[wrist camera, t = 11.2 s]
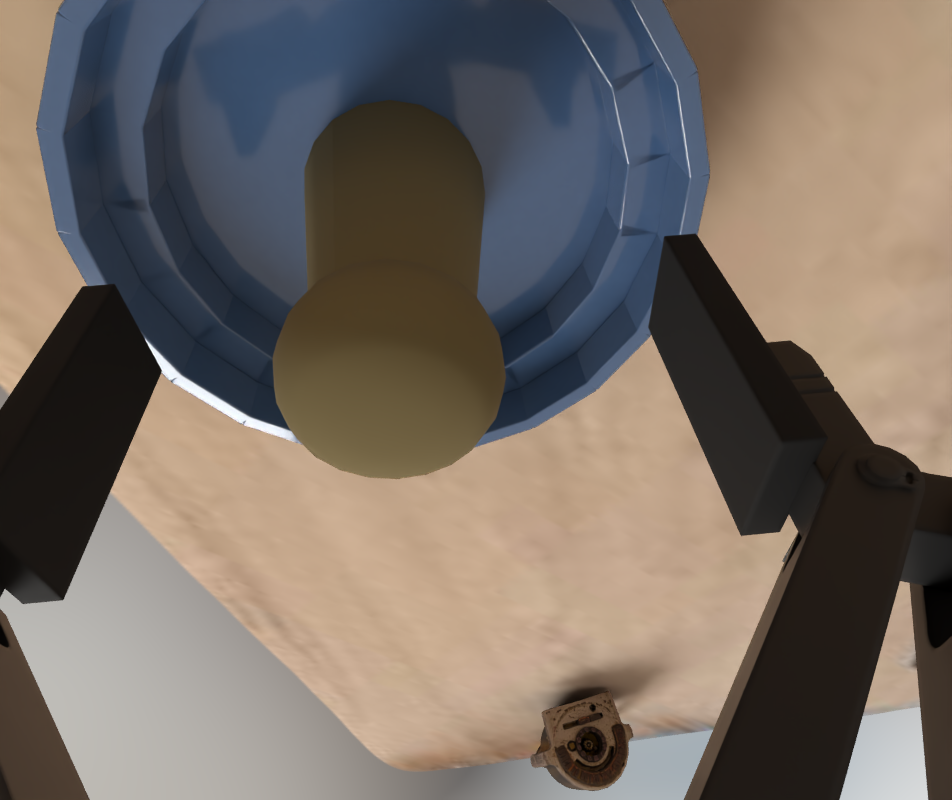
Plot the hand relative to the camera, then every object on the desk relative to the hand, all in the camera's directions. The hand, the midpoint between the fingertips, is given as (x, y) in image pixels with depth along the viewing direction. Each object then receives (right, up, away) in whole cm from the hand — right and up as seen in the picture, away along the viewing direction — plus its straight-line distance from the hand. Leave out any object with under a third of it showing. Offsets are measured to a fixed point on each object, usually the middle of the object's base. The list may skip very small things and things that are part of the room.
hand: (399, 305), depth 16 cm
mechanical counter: (+10, -31, +41) cm, 53 cm away
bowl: (-1, +5, +6) cm, 8 cm away
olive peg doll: (-1, +5, +6) cm, 7 cm away
